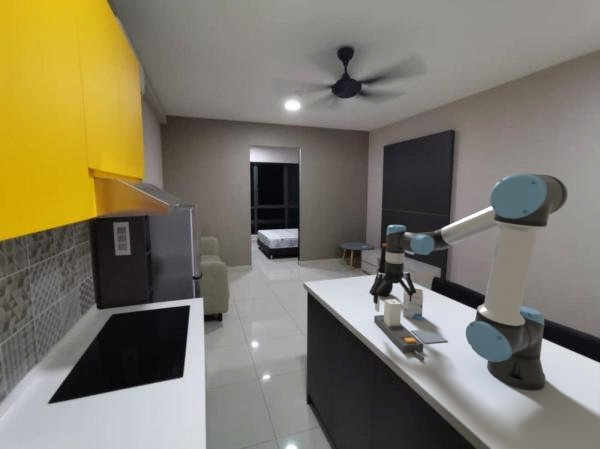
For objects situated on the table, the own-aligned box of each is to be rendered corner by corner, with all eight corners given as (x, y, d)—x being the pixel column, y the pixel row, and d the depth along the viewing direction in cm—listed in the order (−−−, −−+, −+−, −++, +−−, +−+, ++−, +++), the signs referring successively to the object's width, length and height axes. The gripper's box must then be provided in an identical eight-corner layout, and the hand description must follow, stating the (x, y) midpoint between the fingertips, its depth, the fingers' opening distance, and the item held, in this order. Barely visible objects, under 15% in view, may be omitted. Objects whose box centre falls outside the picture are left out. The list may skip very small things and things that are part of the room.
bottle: (369, 292, 168) (371, 243, 165) (383, 290, 172) (385, 242, 169) (382, 298, 158) (384, 246, 155) (396, 296, 163) (398, 245, 160)
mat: (447, 341, 113) (447, 340, 113) (424, 343, 111) (424, 342, 111) (432, 329, 123) (432, 328, 123) (411, 331, 121) (411, 330, 121)
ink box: (422, 316, 136) (424, 286, 135) (421, 320, 132) (423, 289, 130) (403, 312, 140) (405, 283, 139) (402, 316, 136) (403, 286, 134)
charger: (400, 326, 119) (401, 302, 118) (389, 327, 119) (390, 303, 117) (394, 320, 124) (395, 298, 123) (383, 321, 123) (384, 299, 122)
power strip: (432, 360, 100) (433, 350, 99) (412, 362, 98) (412, 352, 98) (390, 320, 131) (390, 312, 131) (374, 321, 130) (374, 313, 129)
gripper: (416, 258, 124) (413, 304, 127) (363, 260, 120) (361, 307, 123) (426, 263, 117) (423, 311, 119) (370, 264, 113) (367, 315, 115)
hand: (391, 309), depth 121 cm, fingers open, 13 cm apart
